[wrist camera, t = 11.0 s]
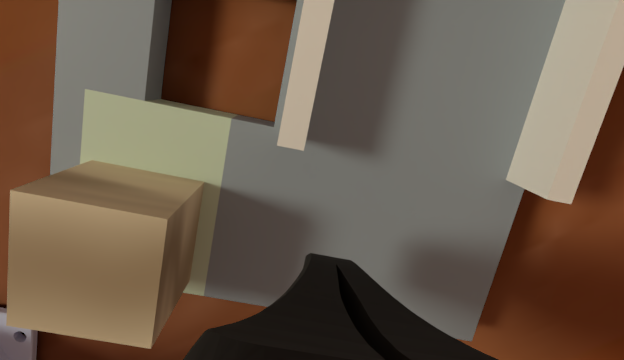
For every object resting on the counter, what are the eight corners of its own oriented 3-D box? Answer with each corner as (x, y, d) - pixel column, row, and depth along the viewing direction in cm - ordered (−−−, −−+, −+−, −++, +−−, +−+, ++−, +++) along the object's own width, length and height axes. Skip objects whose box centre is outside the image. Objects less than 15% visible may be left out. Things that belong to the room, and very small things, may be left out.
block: (189, 280, 15) (151, 348, 11) (83, 262, 15) (6, 325, 11) (204, 181, 14) (167, 219, 10) (91, 159, 14) (10, 190, 10)
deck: (456, 318, 18) (471, 341, 16) (69, 251, 16) (45, 269, 15) (581, -58, 14) (615, -76, 12) (97, -180, 13) (69, -217, 11)
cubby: (526, 183, 14) (571, 204, 12) (281, 134, 14) (276, 145, 11) (615, -76, 12) (692, -114, 10) (334, -148, 12) (342, -208, 9)
